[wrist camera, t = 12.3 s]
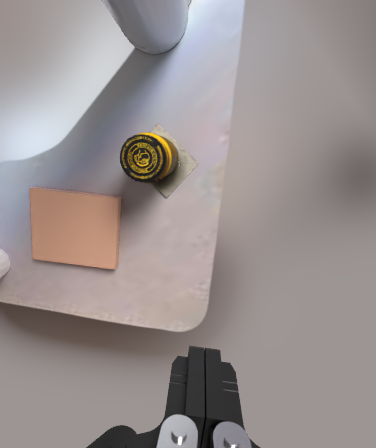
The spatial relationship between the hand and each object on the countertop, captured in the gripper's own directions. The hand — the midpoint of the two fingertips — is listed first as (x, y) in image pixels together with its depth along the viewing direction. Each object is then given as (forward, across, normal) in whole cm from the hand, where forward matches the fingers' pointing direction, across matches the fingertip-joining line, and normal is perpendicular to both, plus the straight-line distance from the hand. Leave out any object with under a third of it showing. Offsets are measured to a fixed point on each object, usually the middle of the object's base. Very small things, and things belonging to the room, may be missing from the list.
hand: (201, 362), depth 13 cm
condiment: (+31, +7, -8) cm, 33 cm away
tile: (+30, +13, +5) cm, 33 cm away
